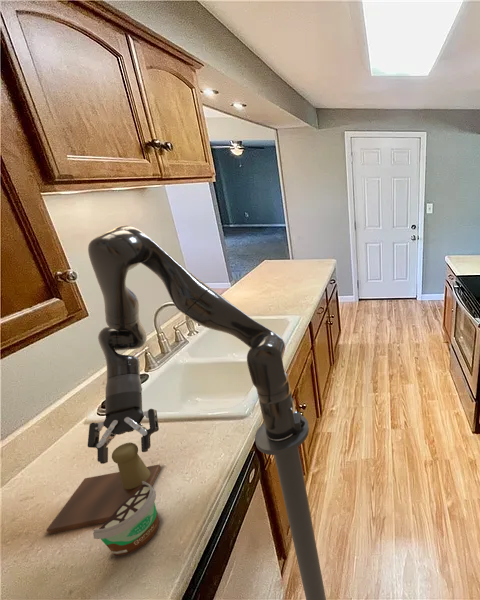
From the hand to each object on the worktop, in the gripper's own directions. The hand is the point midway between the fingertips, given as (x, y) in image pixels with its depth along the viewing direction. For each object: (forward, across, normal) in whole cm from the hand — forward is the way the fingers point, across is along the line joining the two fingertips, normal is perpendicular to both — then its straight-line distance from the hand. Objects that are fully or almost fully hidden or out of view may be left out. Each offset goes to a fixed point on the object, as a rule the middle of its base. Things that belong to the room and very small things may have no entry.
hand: (124, 457), depth 84 cm
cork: (+6, 0, +7) cm, 9 cm away
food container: (+19, +5, -4) cm, 20 cm away
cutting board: (+8, -6, +6) cm, 12 cm away
